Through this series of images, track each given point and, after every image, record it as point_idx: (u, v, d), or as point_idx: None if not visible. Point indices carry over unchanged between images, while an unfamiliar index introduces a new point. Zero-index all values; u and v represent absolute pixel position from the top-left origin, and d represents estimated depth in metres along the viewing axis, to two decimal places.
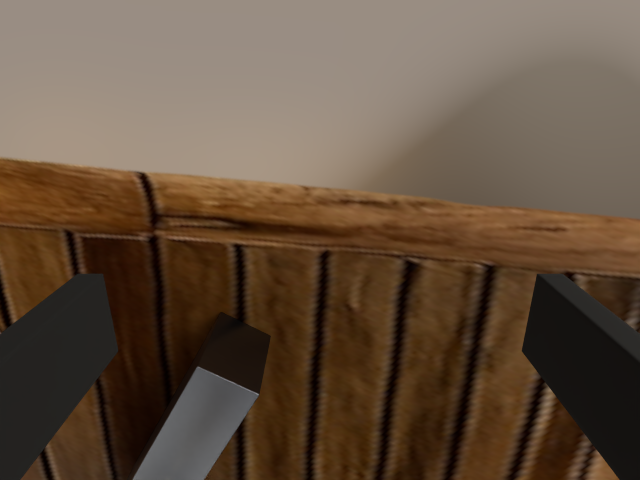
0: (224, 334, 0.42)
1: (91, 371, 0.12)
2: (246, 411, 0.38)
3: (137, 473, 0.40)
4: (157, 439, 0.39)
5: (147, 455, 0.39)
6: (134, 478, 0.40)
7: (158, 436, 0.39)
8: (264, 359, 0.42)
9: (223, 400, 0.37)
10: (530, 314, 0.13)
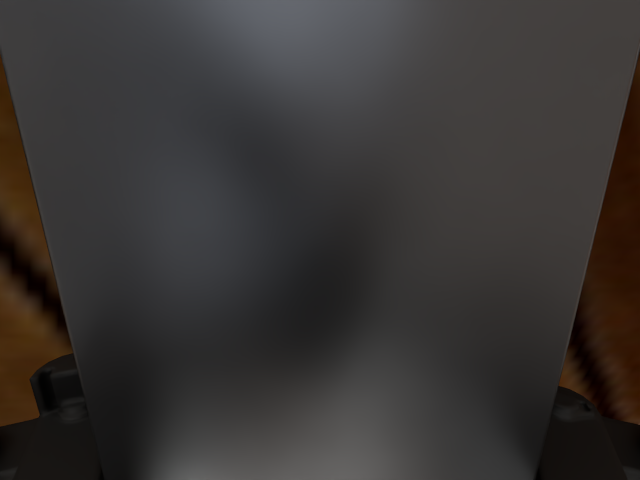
0: None
1: None
2: None
3: None
4: (602, 136, 0.04)
5: None
6: None
7: (600, 177, 0.04)
8: None
9: None
10: None
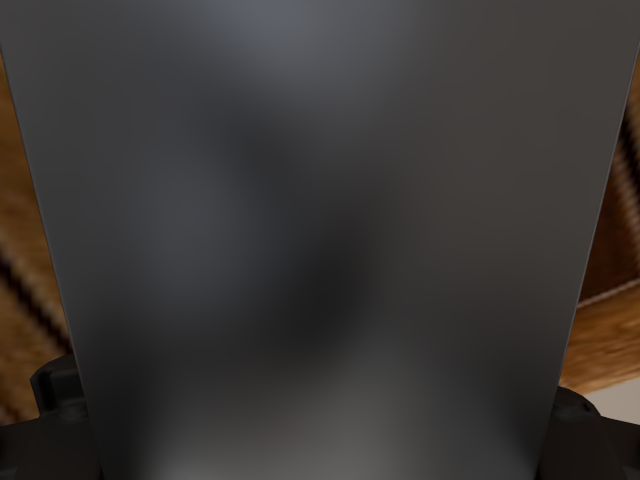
0: None
1: None
2: None
3: None
4: (601, 137, 0.04)
5: None
6: None
7: (599, 178, 0.04)
8: None
9: None
10: None
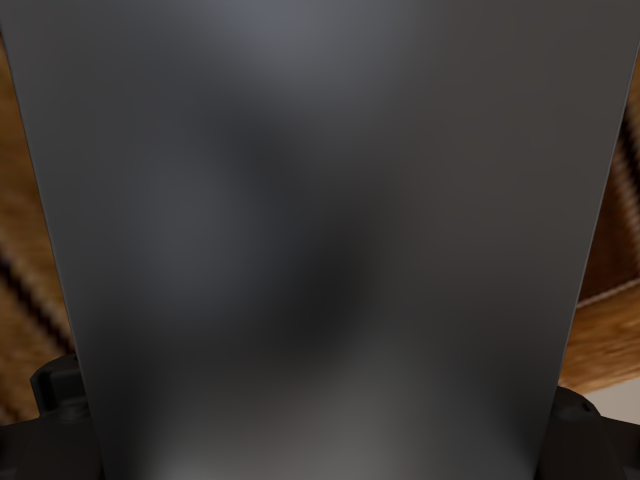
0: None
1: None
2: None
3: None
4: (601, 138, 0.04)
5: None
6: None
7: (599, 178, 0.04)
8: None
9: None
10: None
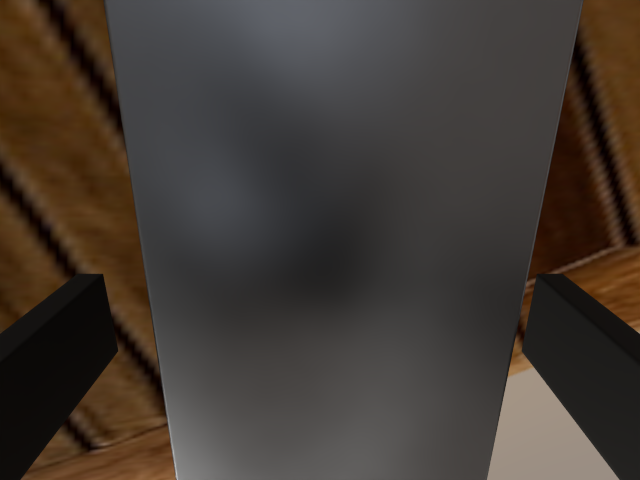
0: None
1: (91, 371, 0.12)
2: (178, 447, 0.08)
3: None
4: (565, 22, 0.05)
5: None
6: None
7: (564, 58, 0.05)
8: None
9: (305, 451, 0.08)
10: (530, 314, 0.13)
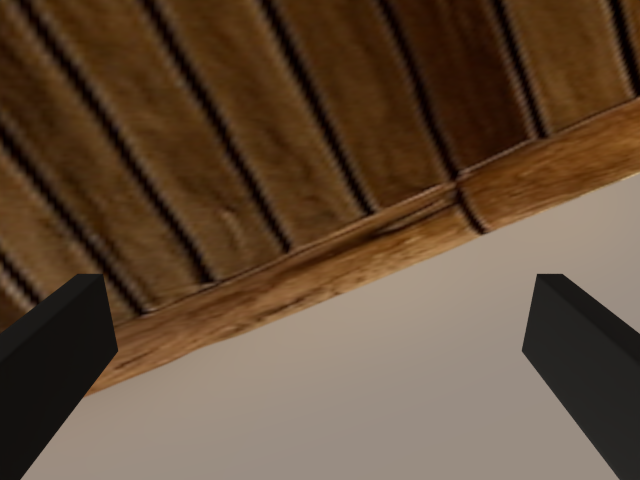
0: None
1: (92, 371, 0.12)
2: None
3: None
4: None
5: None
6: None
7: None
8: None
9: None
10: (530, 314, 0.13)
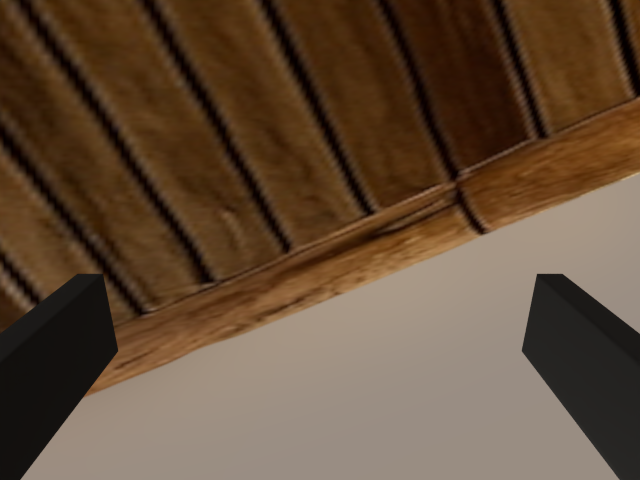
0: None
1: (92, 371, 0.12)
2: None
3: None
4: None
5: None
6: None
7: None
8: None
9: None
10: (530, 314, 0.13)
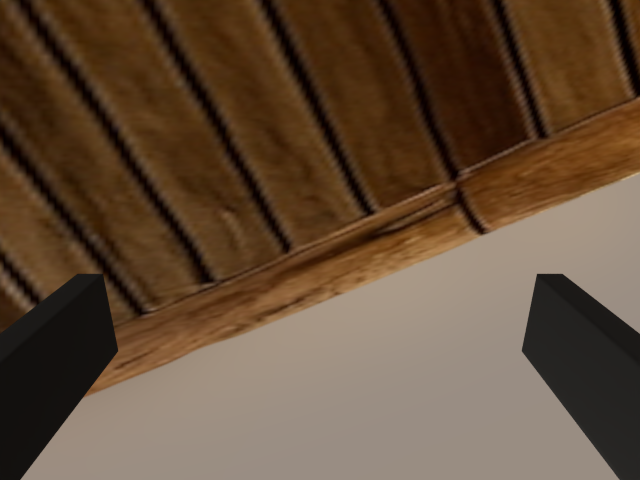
0: None
1: (92, 371, 0.12)
2: None
3: None
4: None
5: None
6: None
7: None
8: None
9: None
10: (530, 314, 0.13)
